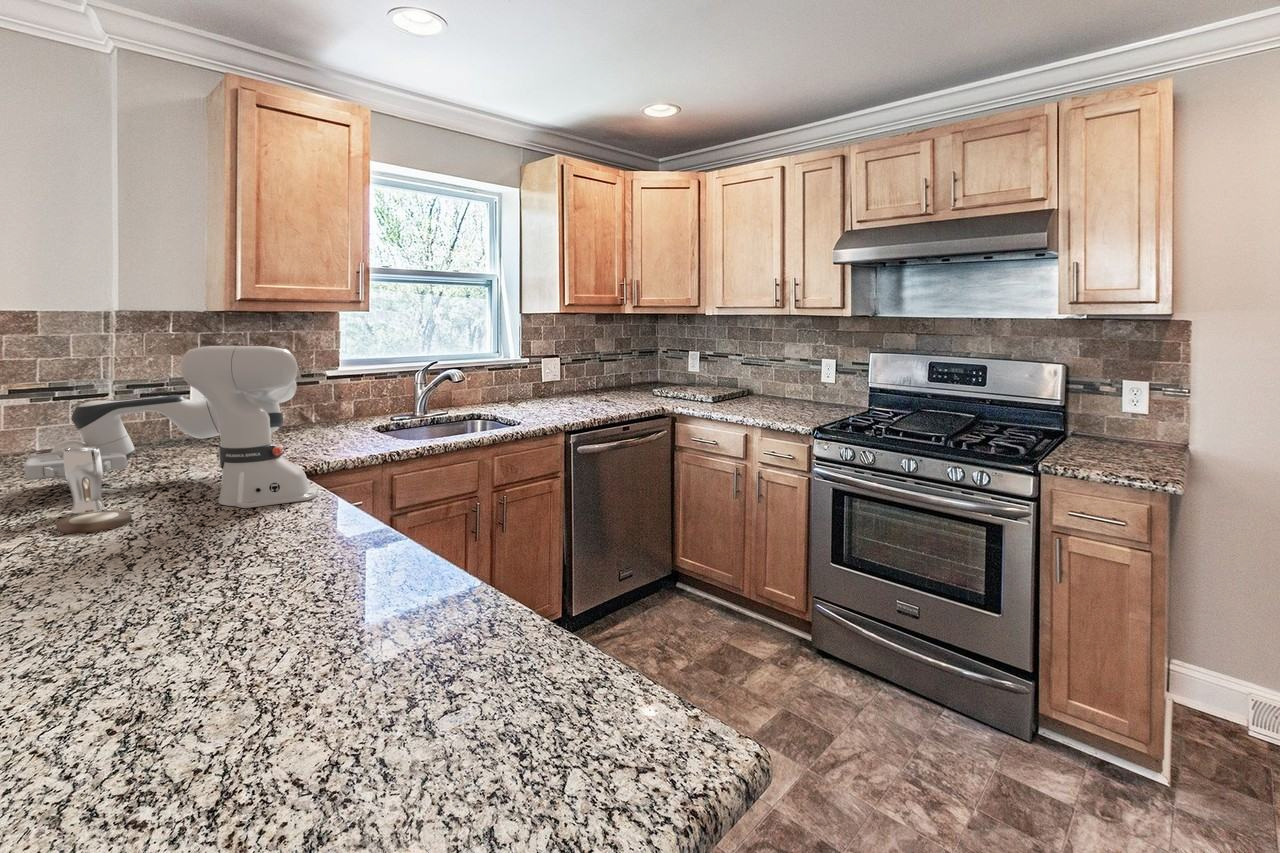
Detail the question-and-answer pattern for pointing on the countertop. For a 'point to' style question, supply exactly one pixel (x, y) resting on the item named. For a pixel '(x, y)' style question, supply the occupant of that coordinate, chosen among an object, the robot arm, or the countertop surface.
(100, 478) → the beer glass
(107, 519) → the walnut board
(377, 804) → the countertop surface
